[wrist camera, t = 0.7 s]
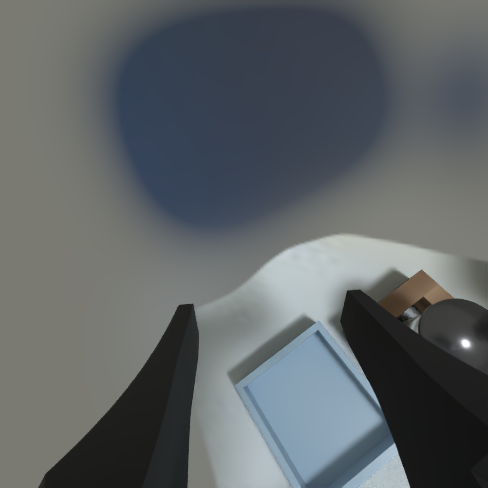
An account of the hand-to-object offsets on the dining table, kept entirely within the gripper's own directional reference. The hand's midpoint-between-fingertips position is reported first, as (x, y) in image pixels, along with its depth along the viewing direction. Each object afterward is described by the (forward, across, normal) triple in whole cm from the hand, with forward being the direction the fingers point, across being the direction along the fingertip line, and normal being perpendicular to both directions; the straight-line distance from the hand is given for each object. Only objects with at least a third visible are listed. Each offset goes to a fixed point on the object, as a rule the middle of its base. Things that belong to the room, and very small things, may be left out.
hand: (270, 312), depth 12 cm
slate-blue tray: (+4, -5, +17) cm, 18 cm away
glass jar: (+6, -15, +12) cm, 21 cm away
